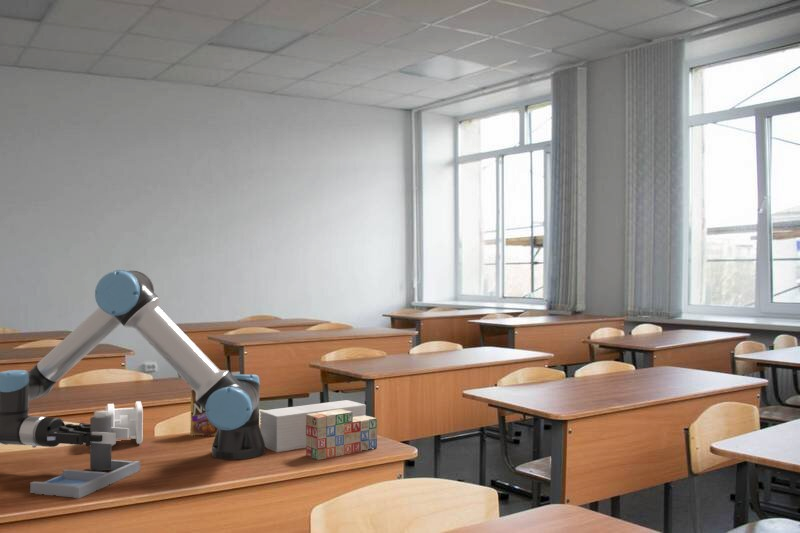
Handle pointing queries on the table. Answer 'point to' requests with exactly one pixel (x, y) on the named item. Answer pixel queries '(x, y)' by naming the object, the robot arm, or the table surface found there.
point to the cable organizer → (128, 420)
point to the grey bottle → (99, 451)
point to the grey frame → (84, 480)
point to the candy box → (200, 419)
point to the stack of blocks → (339, 433)
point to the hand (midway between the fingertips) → (121, 436)
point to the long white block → (297, 423)
